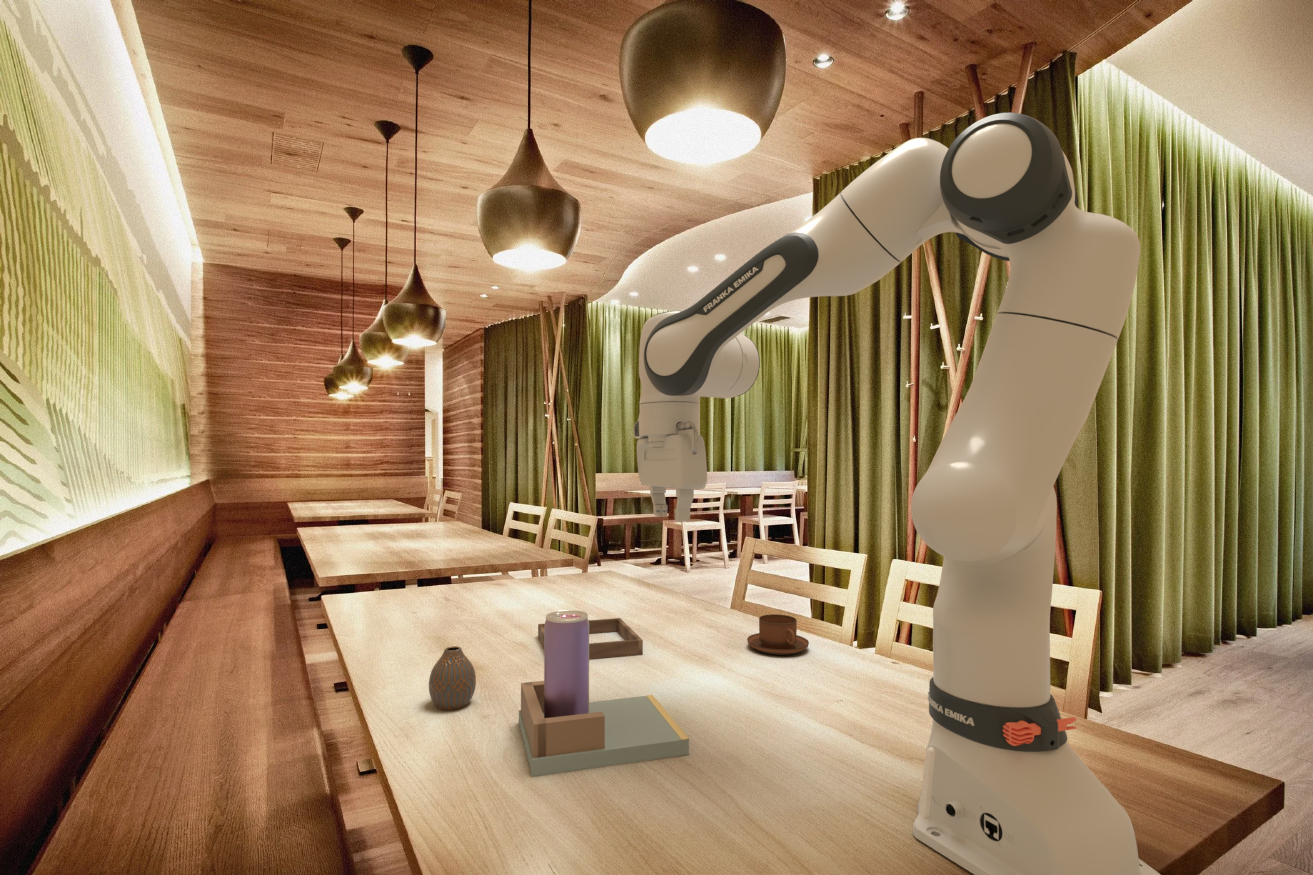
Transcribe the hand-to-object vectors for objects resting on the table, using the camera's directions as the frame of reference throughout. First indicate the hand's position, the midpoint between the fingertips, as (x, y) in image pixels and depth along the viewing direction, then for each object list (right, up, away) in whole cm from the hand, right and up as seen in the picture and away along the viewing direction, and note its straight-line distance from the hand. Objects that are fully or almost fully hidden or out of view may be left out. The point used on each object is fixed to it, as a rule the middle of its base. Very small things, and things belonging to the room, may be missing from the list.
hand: (670, 518), depth 96 cm
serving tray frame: (-16, -30, +35) cm, 49 cm away
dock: (-10, -29, -7) cm, 31 cm away
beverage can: (-14, -27, -8) cm, 32 cm away
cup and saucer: (+22, -30, +34) cm, 51 cm away
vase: (-33, -29, +5) cm, 45 cm away
